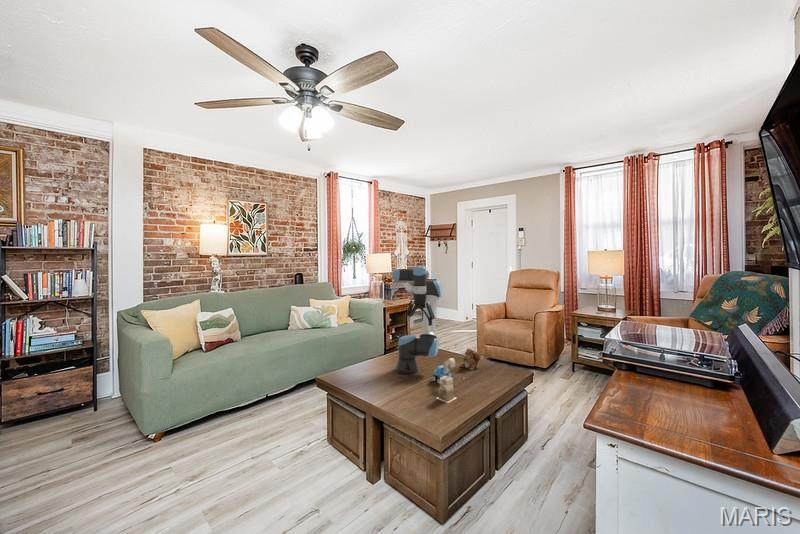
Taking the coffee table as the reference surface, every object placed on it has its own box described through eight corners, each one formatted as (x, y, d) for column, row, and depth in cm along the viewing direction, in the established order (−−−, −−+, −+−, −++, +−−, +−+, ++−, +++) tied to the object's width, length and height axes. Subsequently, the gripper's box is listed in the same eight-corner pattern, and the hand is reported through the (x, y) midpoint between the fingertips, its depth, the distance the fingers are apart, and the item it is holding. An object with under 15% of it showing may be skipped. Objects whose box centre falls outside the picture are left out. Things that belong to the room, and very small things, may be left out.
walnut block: (438, 398, 179) (438, 389, 179) (445, 394, 183) (445, 385, 183) (447, 401, 175) (447, 392, 174) (454, 397, 179) (454, 388, 179)
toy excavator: (446, 390, 191) (446, 360, 191) (431, 380, 206) (430, 353, 205) (458, 387, 195) (458, 358, 195) (442, 377, 210) (442, 351, 209)
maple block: (439, 389, 178) (439, 378, 178) (445, 386, 182) (445, 375, 182) (447, 391, 175) (447, 380, 175) (453, 389, 178) (452, 378, 178)
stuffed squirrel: (458, 367, 229) (458, 348, 229) (472, 363, 237) (472, 344, 236) (469, 371, 221) (469, 351, 220) (483, 366, 229) (483, 348, 228)
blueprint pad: (426, 397, 182) (426, 395, 182) (441, 389, 192) (441, 387, 192) (450, 406, 171) (450, 404, 171) (465, 397, 181) (465, 396, 181)
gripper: (400, 292, 199) (400, 327, 200) (432, 295, 182) (432, 333, 183) (408, 290, 205) (409, 324, 206) (440, 294, 187) (441, 331, 188)
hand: (420, 329), depth 194 cm, fingers open, 13 cm apart
